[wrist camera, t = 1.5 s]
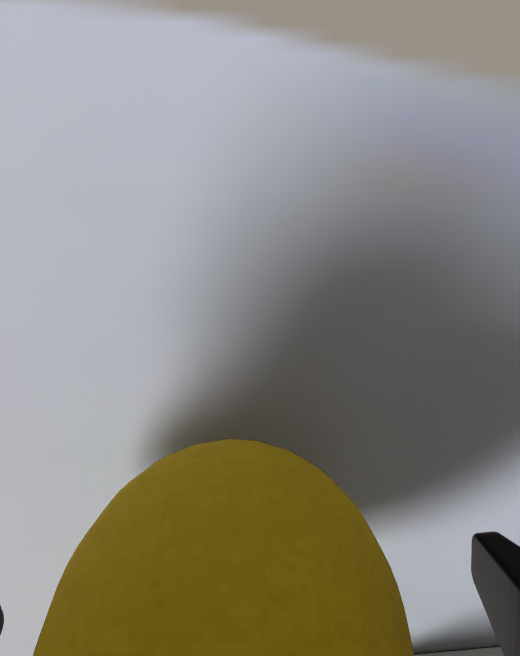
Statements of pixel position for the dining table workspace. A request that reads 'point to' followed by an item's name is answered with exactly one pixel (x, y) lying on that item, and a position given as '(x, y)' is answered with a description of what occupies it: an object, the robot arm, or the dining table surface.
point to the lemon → (228, 565)
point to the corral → (469, 652)
